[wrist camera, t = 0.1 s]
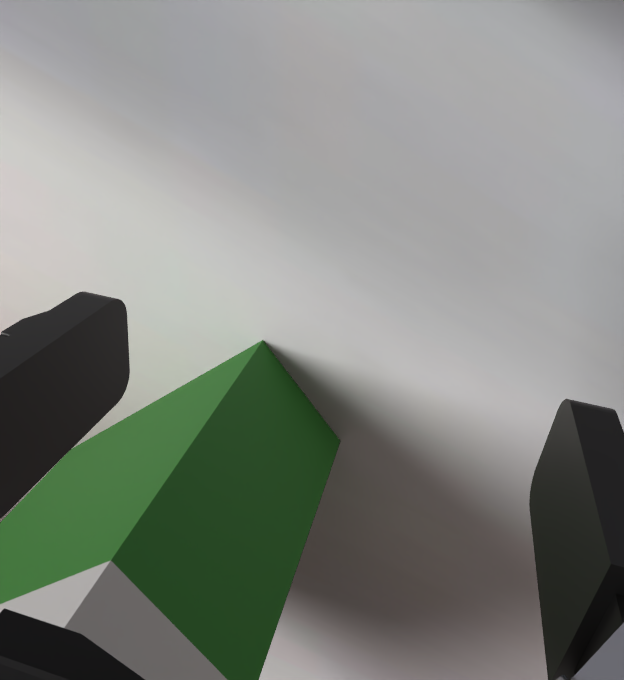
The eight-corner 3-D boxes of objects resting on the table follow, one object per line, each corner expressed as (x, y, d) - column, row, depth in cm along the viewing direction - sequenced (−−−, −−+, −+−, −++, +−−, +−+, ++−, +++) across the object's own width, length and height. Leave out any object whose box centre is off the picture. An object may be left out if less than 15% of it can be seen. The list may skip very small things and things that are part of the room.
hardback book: (141, 525, 41) (-190, 1014, 21) (70, 449, 40) (-369, 906, 19) (340, 441, 33) (111, 1107, 13) (263, 340, 31) (-149, 936, 11)
